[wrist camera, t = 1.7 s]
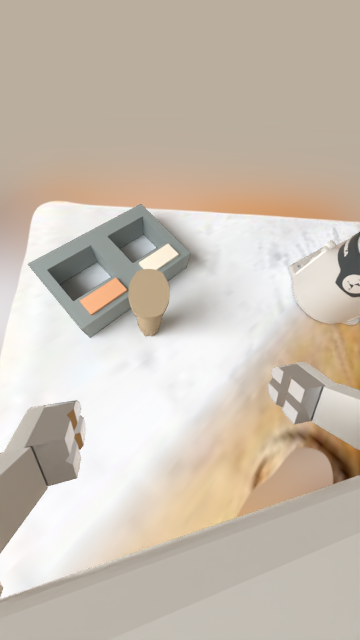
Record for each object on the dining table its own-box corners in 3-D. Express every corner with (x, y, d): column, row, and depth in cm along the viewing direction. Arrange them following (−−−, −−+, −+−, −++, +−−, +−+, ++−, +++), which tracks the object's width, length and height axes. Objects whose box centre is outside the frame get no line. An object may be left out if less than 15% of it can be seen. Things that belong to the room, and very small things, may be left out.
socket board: (141, 222, 46) (140, 201, 41) (186, 267, 44) (191, 250, 39) (42, 279, 39) (25, 261, 33) (90, 337, 36) (80, 328, 31)
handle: (162, 313, 40) (169, 270, 26) (162, 345, 37) (169, 317, 24) (137, 312, 39) (130, 267, 25) (135, 345, 37) (126, 316, 23)
